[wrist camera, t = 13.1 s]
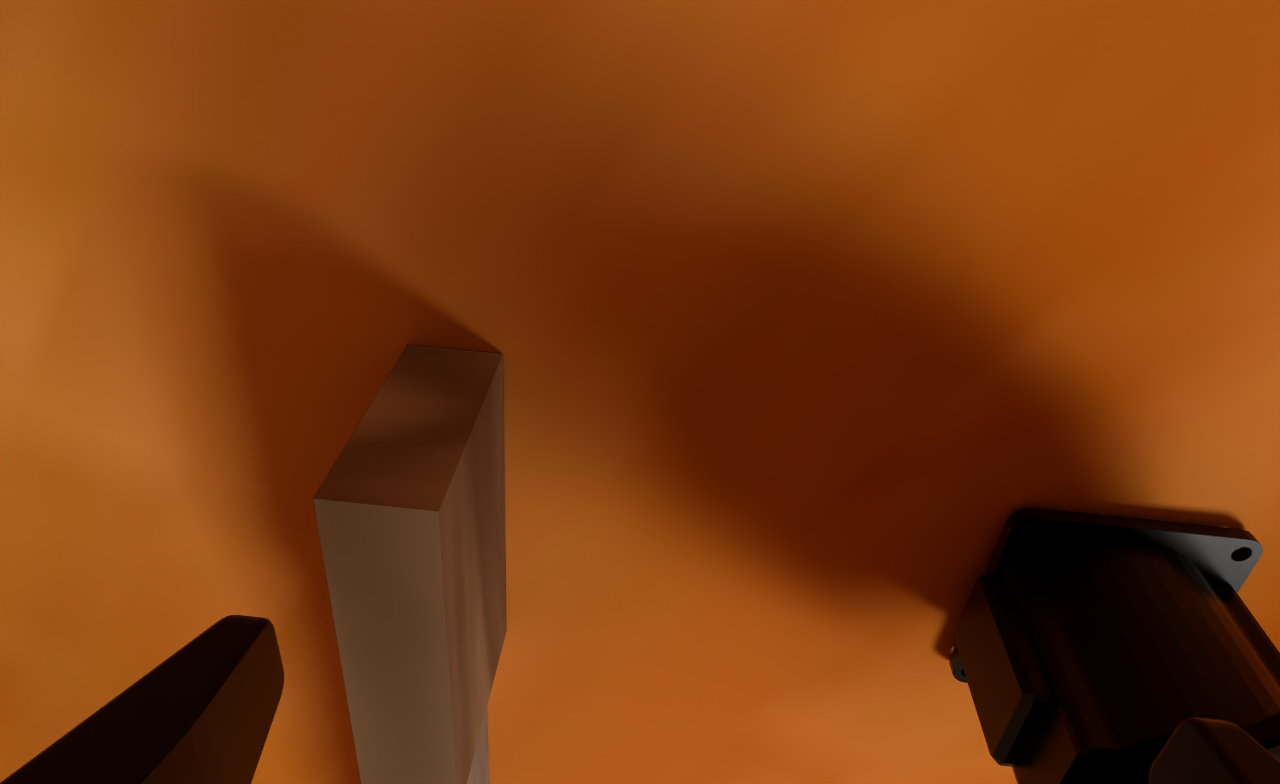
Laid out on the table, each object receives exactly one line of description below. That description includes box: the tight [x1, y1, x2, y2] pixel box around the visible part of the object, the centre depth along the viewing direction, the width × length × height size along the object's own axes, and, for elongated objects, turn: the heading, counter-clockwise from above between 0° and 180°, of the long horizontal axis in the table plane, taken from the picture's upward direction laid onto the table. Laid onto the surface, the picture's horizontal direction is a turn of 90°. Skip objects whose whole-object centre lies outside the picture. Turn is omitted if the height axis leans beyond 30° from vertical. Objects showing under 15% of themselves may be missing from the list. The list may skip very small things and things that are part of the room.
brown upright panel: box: [313, 344, 506, 784], centre depth 25 cm, size 2×22×6 cm, turn 176°
